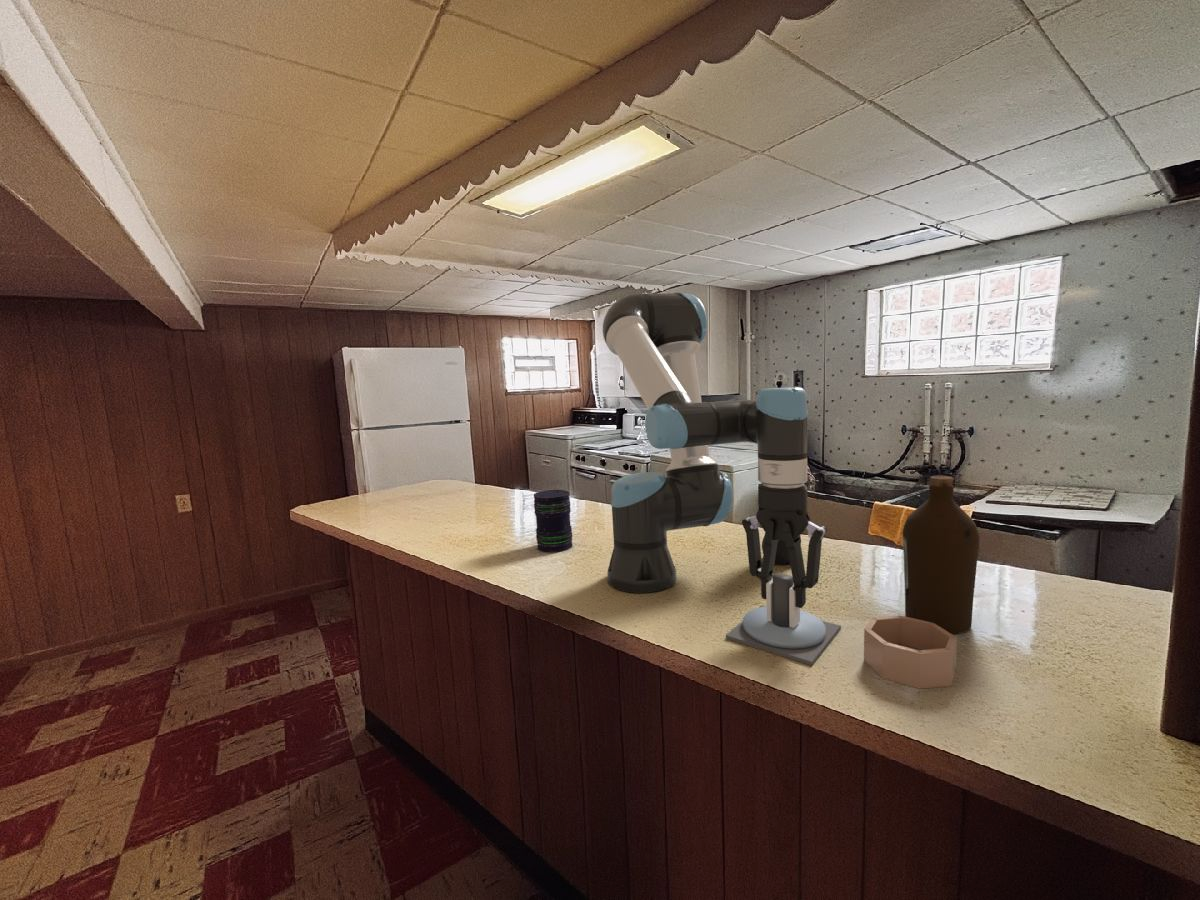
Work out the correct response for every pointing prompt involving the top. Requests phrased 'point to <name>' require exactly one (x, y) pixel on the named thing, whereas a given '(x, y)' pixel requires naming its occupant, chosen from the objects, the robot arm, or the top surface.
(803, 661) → the mat
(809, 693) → the top surface
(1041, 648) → the top surface
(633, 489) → the robot arm
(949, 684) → the bowl
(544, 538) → the storage jar
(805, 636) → the lid
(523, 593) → the top surface
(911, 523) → the olive oil
